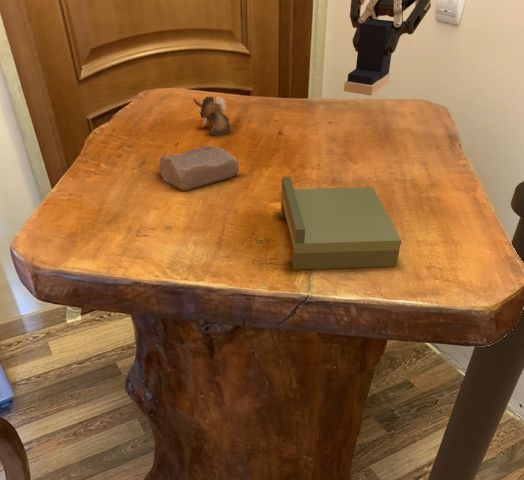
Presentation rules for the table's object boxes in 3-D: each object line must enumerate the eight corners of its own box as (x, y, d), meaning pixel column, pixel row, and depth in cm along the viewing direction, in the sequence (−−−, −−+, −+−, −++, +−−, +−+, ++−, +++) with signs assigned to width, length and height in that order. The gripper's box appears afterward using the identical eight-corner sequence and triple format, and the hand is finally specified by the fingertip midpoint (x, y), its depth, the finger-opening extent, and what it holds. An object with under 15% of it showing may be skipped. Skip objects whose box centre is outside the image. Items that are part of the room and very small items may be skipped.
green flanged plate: (369, 211, 87) (375, 174, 83) (396, 266, 75) (404, 226, 71) (280, 213, 86) (282, 176, 82) (293, 269, 74) (296, 229, 70)
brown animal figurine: (184, 117, 115) (192, 123, 107) (199, 84, 113) (209, 87, 105) (215, 135, 118) (226, 142, 111) (231, 103, 116) (242, 108, 109)
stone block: (155, 183, 97) (183, 193, 90) (151, 155, 95) (178, 162, 88) (213, 170, 103) (243, 178, 96) (210, 143, 100) (240, 149, 93)
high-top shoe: (362, 78, 100) (369, 18, 94) (388, 82, 99) (397, 21, 93) (343, 91, 94) (349, 28, 88) (371, 95, 93) (379, 31, 86)
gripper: (362, -65, 92) (327, 31, 92) (447, -60, 87) (411, 41, 87) (369, -30, 99) (336, 59, 99) (448, -24, 94) (414, 70, 94)
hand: (371, 50), depth 93 cm, fingers closed on high-top shoe, 4 cm apart
